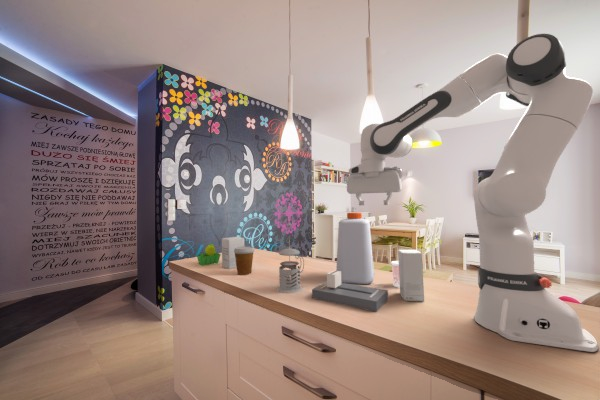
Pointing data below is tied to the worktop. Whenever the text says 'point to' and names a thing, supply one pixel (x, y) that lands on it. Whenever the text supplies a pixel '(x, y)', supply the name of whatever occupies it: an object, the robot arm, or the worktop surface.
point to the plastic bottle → (355, 250)
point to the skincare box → (411, 275)
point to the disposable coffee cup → (244, 259)
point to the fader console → (352, 295)
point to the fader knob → (334, 279)
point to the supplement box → (230, 251)
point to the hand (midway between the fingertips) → (373, 205)
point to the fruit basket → (208, 256)
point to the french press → (289, 272)
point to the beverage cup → (395, 273)
